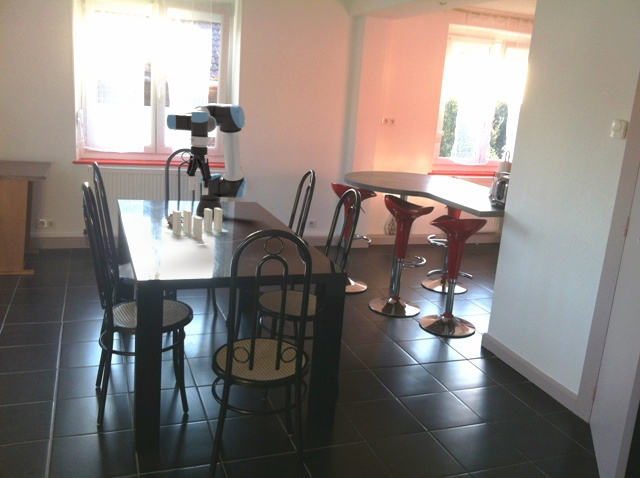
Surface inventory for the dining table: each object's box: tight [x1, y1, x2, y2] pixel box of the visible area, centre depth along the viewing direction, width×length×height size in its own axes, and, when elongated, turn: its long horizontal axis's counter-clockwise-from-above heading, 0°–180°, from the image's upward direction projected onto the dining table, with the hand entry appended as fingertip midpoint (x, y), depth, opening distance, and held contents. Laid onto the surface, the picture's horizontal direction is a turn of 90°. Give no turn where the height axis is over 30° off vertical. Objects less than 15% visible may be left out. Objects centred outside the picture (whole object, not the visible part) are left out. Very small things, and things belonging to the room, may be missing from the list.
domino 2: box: [182, 209, 193, 234], centre depth 285 cm, size 2×5×11 cm, turn 37°
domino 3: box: [192, 215, 203, 241], centre depth 276 cm, size 2×5×11 cm, turn 38°
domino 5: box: [213, 208, 224, 231], centre depth 295 cm, size 2×5×11 cm, turn 38°
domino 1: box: [172, 209, 182, 235], centre depth 282 cm, size 2×5×11 cm, turn 38°
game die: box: [164, 213, 183, 228], centre depth 299 cm, size 9×8×10 cm
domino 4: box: [203, 208, 213, 232], centre depth 292 cm, size 2×5×11 cm, turn 37°
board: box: [164, 227, 230, 237], centre depth 290 cm, size 30×9×1 cm, turn 128°
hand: (198, 192), depth 272 cm, fingers open, 13 cm apart
